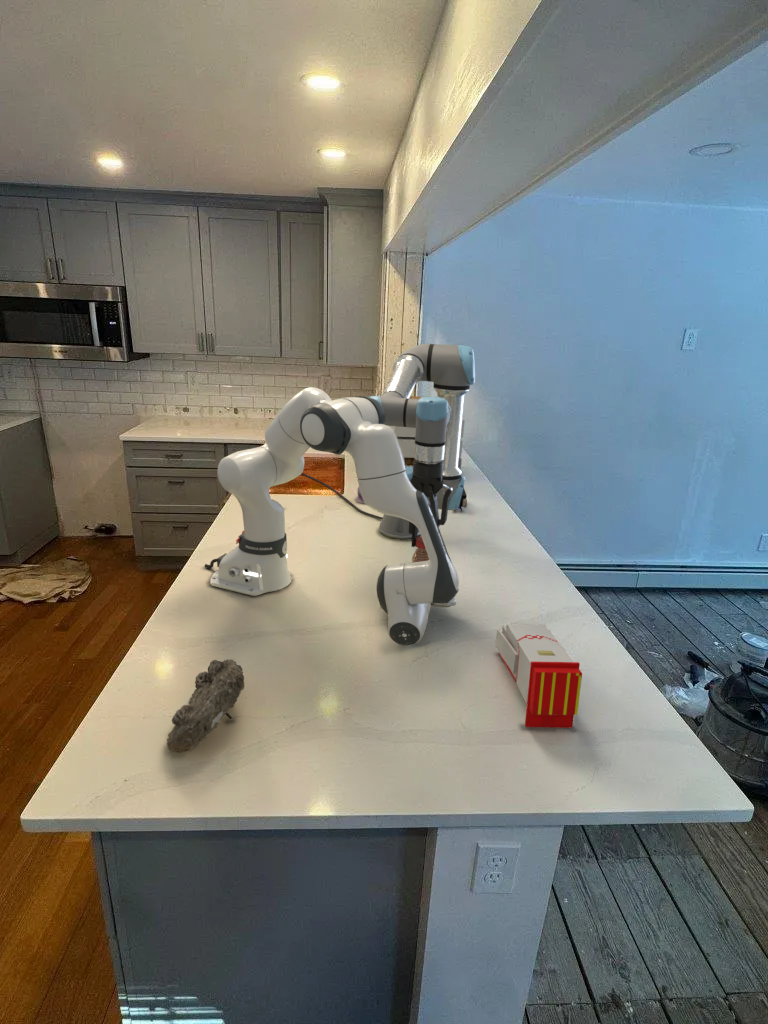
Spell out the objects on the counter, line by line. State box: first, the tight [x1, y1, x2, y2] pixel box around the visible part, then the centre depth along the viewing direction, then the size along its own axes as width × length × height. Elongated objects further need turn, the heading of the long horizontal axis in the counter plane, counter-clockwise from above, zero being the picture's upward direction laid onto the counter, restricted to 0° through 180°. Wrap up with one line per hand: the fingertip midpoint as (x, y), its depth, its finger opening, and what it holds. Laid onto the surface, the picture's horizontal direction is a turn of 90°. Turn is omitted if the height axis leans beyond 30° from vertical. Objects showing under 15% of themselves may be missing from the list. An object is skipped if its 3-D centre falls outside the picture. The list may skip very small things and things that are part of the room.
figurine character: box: [453, 487, 468, 512], centre depth 228 cm, size 7×8×15 cm
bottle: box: [411, 547, 429, 563], centre depth 152 cm, size 5×5×18 cm
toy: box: [494, 623, 583, 729], centre depth 120 cm, size 12×13×30 cm
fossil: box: [166, 658, 245, 754], centre depth 106 cm, size 22×10×15 cm
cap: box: [415, 536, 426, 549], centre depth 149 cm, size 4×4×2 cm
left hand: (420, 577), depth 154 cm, fingers closed on bottle, 5 cm apart
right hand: (422, 546), depth 150 cm, fingers closed on cap, 4 cm apart
